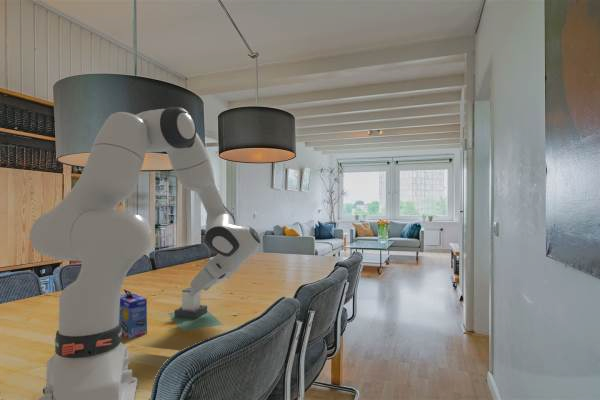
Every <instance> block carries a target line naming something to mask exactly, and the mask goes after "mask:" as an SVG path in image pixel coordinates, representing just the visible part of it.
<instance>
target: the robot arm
mask: <svg viewBox="0 0 600 400" xmlns="http://www.w3.org/2000/svg"><path fill="white" fill-rule="evenodd" d="M164 152H165V153H167V155H168V160H169V162H170V165H171V167H172V170H173V171H174V172H173V173H174V174H175V176H176V179H177V180H178V181H179V184H180V185H181V186H182V187H183V188H184V189H186V190H188V191H191V192H196V194H197V195H198V196H199V199H200V201H201V203H202V205H203V207H204V210H205V213H206V220H205V221H206V225H205V230H204V231H205V232H204V243H205V245H206V247H207V248H208V249H209V250H211V251H213V252H215V253H217V254H216V255H215V256H214V257H213V258H211V259H209V260H208V261H207V262H206V263H205V264H203V268H202V269H201V270H200V271H199V272H198V273H197V275H195V277H193V279H192V280H191V282H190V284H189V286H190V288H192V290H191V291H190V292H189V295H190V296H191V297H193V296H195V295H196V294H197V292H199V291H203V290H204V291H208V290H209V289H210V288H211V287H213V286H214V285H216V284H218V283H221V282H223V281H224V280H225V279H230V278H231V277H233V275H235V273H237V271H239V269H240V268H241V267H242V265H243V264H244V263H245V262H247V261H249V260H250V258H251V257H252V256H253V255H254V254H255V253H256V251H257V250H258V249H259V248H260V245H261V239H260V236H259V234H258V233H257V231H256V230H255V229H254V228H253V227H252V226H248V225H247V226H240V225H236V219H235V216H234V214H233V213H232V212H231V211H230V210H229V209H228V208H227V207H226V206H225V204H224V202H223V201H222V199H221V196H220V194H219V191H218V188H217V186H216V182H215V174H214V169H213V166H212V163H211V159H210V157H209V154H208V151H207V149H206V147H205V145H204V143H203V141H202V139H201V137H200V135H199V134H198V132H197V125H196V122H195V120H194V117H193V116H192V115H191V114H190V112H188V111H187V110H186V109H184V108H183V107H178V106H177V107H176V106H168V107H166V108H158V109H149V110H145V111H141V112H139V113H137V114H133V113H132V112H131V113H130V112H125V111H118V112H114V113H112V114H110V115H109V116H108V117H107V119H105V121H104V123H103V124H102V126H101V128H100V130H99V132H97V135H96V137H95V139H94V142H93V144H92V147H91V149H90V153H89V155H88V157H87V160H86V162H85V165H84V167H83V169H82V172H81V175H80V176H79V178H78V180H77V182H76V183H75V184H74V185H73V187H72V188H71V190H70V191H69V192H68V193H67V194H66V195H65V197H64V198H63V199H62V200H61V201H59V203H58V204H57V205H56V206H54V207H53V208H52V209H50V210H49V211H47V212H46V213H43V214H42V215H40V216H39V217H37V219H36V220H35V221H34V222H33V224H32V226H31V228H30V232H29V240H30V244H31V246H32V248H33V249H34V251H36V253H38V254H40V255H41V256H45V257H48V258H50V259H51V258H52V259H54V260H59V261H66V262H67V261H70V262H71V261H72V262H81V266H80V271H79V274H78V276H77V278H76V280H75V281H73V282H72V283H69V284H68V285H66V287H64V289H62V291H61V292H60V295H59V298H58V330H57V331H56V333H55V338H54V345H55V346H54V354H53V355H52V356H51V357H50V358H48V360H46V371H45V372H46V373H45V375H46V377H45V386H44V387H43V389H42V394H43V395H41V396H39V397H38V398H36V399H35V400H134V396H135V397H136V395H135V390H136V391H137V389H136V386H137V387H138V384H137V382H138V381H139V380H138V377H136V376H133V369H128V368H129V367H128V366H129V365H130V364H131V357H130V356H129V357H128V353H129V352H128V351H129V347H128V346H127V345H126V344H124V343H123V342H122V328H121V322H120V321H119V314H120V296H121V295H122V290H123V289H122V288H123V285H124V284H123V283H124V282H125V278H126V276H127V274H128V272H129V271H130V269H131V268H132V266H133V265H134V264H135V263H136V262H137V261H139V259H141V258H142V257H144V255H145V254H146V253H147V251H148V250H149V248H150V246H151V242H152V237H153V236H152V233H153V232H152V229H151V225H150V224H149V222H148V220H147V219H146V218H145V217H144V216H142V215H141V214H137V213H134V212H129V211H124V210H116V209H115V210H114V208H116V206H118V205H119V204H120V203H122V202H124V201H125V200H127V199H129V198H130V197H131V196H132V195H133V194H134V192H135V191H136V188H137V185H138V182H139V178H140V175H141V171H142V168H143V165H144V161H145V157H146V154H147V153H149V154H150V153H164ZM130 383H132V384H130ZM138 383H139V382H138Z"/></svg>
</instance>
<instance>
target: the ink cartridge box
mask: <svg viewBox="0 0 600 400" xmlns="http://www.w3.org/2000/svg"><path fill="white" fill-rule="evenodd" d="M123 291H124V293H125V294H121V296H120V314H119V321H120V322H121V328H122V334H121V336H122V335H123V336H124V337H125V338H129V339H132V338H133V339H134V338H137V337H141V336H144V335H147V334H148V310H147V309H148V303H147V301H148V300H147V298H146V297H144V296H140V295H138V294H136V293H133V292H132V293H131V292H130V290H127V289H123Z"/></svg>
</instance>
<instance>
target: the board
mask: <svg viewBox="0 0 600 400" xmlns="http://www.w3.org/2000/svg"><path fill="white" fill-rule="evenodd" d="M168 315H169V316H170V318H171V319H172V320H173V321H174V323H175V325H177V327H178V328H179V330H180V331H181V332H187V331H193V330H198V329H199V330H200V329H205V328H206V329H207V328H211V327H217V326H224V324H223V323H222V322H221V321H220V320H219V319H218V318H217V317H215V316H214V315H213V314H212V313H211V312H210V311H208V306H207V305H206V304H205V305H204V304H200V308H199V309H197V310H195V311H189V310H182V306H181V307H178V308H176V309H174V312H168Z"/></svg>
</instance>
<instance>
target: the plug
mask: <svg viewBox="0 0 600 400" xmlns="http://www.w3.org/2000/svg"><path fill="white" fill-rule="evenodd" d="M191 290H192V288H191V287H187V288H184V289H182V292H181V294H182V296H181V307H182V310H189V311H195V310H197V309H199V308H200V305H201V291H202V290H201V291H199V292H197V294H196V295H195V296H193V297H191V296H190V295H189V292H190V291H191Z"/></svg>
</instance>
